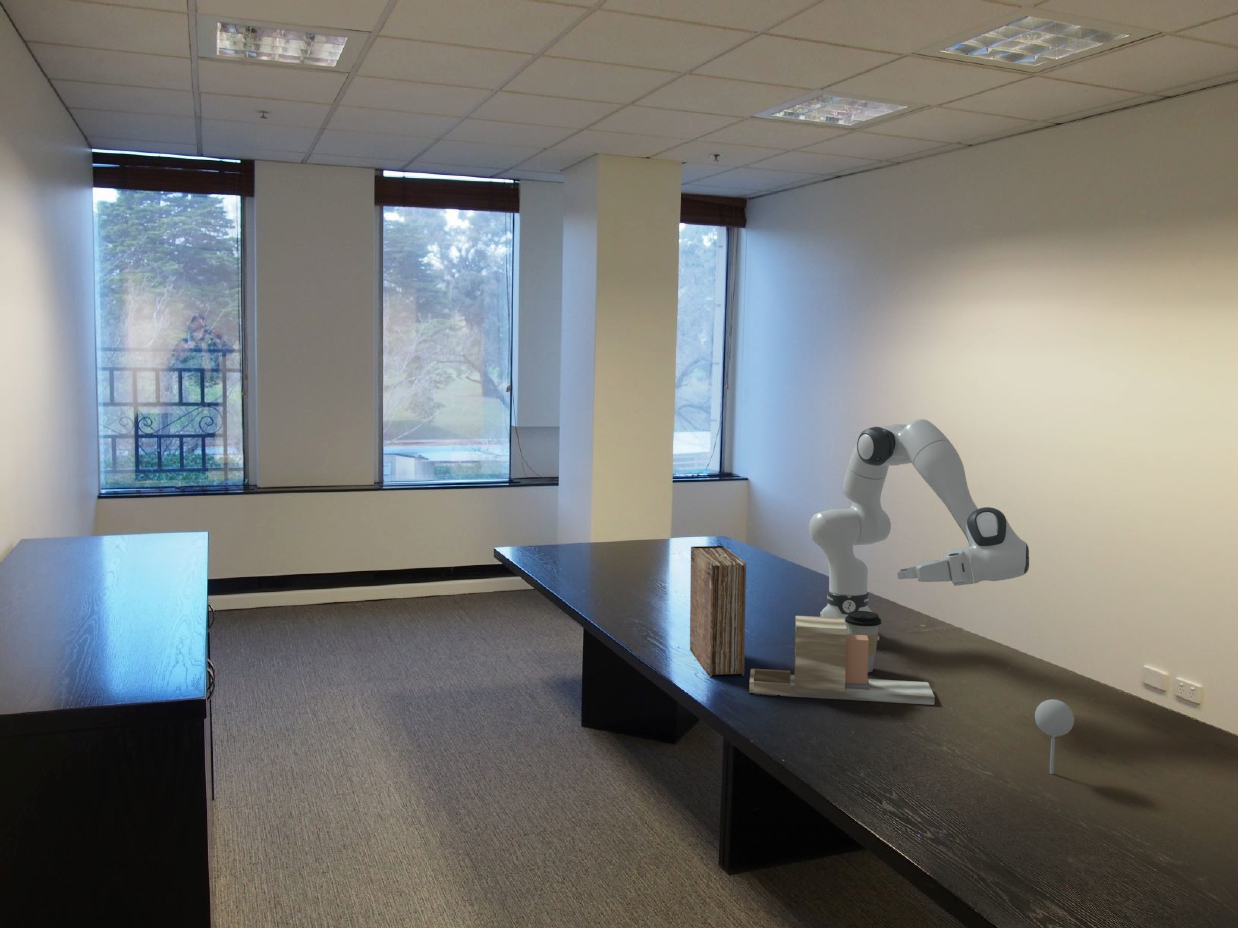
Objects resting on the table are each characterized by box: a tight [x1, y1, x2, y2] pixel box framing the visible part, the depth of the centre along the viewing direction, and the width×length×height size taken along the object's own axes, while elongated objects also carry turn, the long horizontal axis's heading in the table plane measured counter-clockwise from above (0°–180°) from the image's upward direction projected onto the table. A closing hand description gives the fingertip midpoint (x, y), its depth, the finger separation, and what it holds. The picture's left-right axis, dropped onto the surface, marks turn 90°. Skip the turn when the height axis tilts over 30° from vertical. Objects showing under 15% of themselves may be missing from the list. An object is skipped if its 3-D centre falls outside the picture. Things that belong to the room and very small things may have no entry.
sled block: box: [845, 634, 870, 689], centre depth 244 cm, size 6×12×12 cm, turn 81°
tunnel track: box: [748, 615, 936, 705], centre depth 244 cm, size 11×44×18 cm, turn 81°
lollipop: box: [1034, 699, 1075, 775], centre depth 196 cm, size 7×7×15 cm
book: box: [689, 545, 747, 678], centre depth 267 cm, size 25×9×30 cm, turn 8°
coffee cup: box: [845, 611, 882, 673], centre depth 263 cm, size 9×9×15 cm
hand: (899, 574), depth 241 cm, fingers open, 8 cm apart
